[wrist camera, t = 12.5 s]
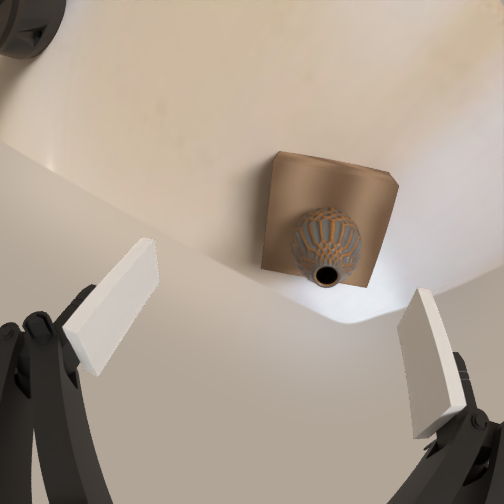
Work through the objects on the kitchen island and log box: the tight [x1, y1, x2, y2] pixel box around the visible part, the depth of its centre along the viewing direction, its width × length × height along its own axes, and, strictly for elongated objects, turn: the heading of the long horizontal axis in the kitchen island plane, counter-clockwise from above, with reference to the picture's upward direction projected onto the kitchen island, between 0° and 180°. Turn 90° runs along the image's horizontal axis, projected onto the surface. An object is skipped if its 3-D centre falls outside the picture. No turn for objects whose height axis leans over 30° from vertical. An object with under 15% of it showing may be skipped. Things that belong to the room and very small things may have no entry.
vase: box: [291, 207, 362, 288], centre depth 27 cm, size 7×7×9 cm
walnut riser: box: [261, 151, 399, 288], centre depth 33 cm, size 13×13×5 cm
